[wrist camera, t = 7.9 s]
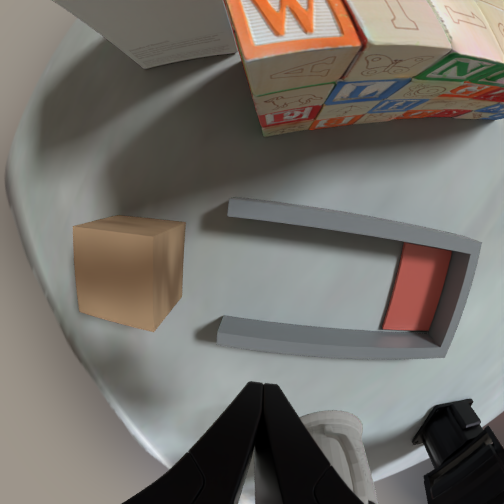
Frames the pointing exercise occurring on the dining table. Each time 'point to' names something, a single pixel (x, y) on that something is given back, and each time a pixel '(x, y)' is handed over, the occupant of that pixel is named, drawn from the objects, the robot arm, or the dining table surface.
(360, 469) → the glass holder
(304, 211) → the trap channel
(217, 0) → the supplement box
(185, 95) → the dining table surface
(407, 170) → the dining table surface
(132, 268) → the tan cube
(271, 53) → the stack of blocks
